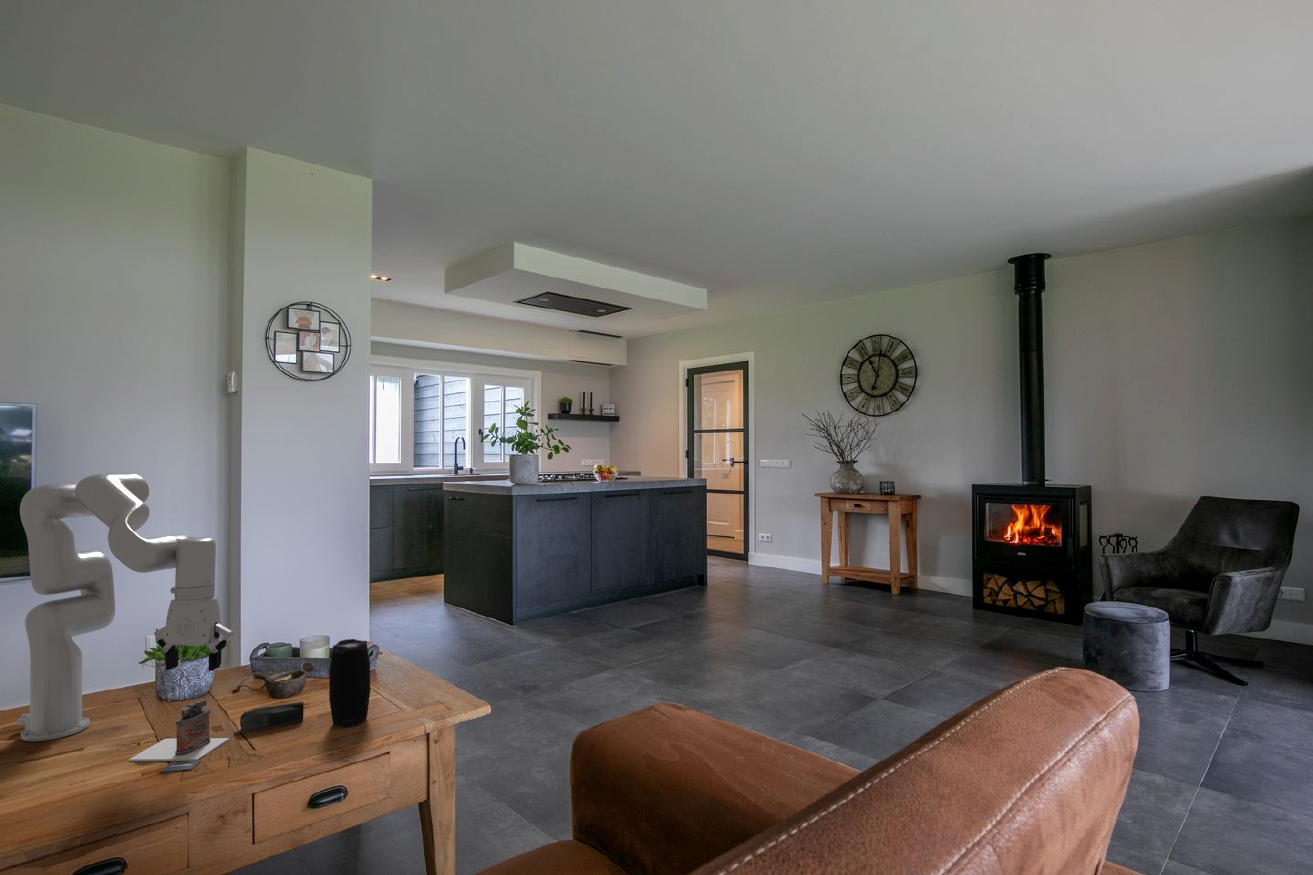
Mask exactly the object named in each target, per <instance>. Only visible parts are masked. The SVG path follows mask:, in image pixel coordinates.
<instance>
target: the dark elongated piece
mask: <svg viewBox="0 0 1313 875" xmlns="http://www.w3.org/2000/svg"><path fill="white" fill-rule="evenodd" d="M304 707H305V703H304V702H303V701H299V702H292V703H291V702H290V703H284V704H277V705H272V706H271V705H270V706H261V707H256V708H252V709H249V710H248V711H245V712H243V713H242V714H241V716H240V719H239V721H240V722H239V725H240V726H239V727H240V728H239V730H238V731H234V732H233V735H241V734H245V733H251V732H256V731H255V730H257V731H261V730H260V729H263V730H267V728H268V729H273V728H279V727H283V726H288V725H294V724H295V725H296V724H298V723H301V722H303V721H304V712H305V711H304V709H305V708H304ZM250 731H251V732H250Z"/></svg>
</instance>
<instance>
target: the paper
mask: <svg viewBox="0 0 1313 875" xmlns="http://www.w3.org/2000/svg"><path fill="white" fill-rule="evenodd" d="M209 738H210V743H209V744H207V745H206V746H204V747H202V748H200V749H198V750H196V751H194V752H192V753H189V754H187V755H184V756H176V755H175V751H176V747H177V738H164V739H162V740H160V741H158V742H157V743H155V744H153V745H152V746H150V747H148V748H146V749H144V750H143V751H141V752H139V753H138V754H136V755H134V756H133V757H130V758H129V759H128V762H188V761H197V760H198V761H200V760H201V759H202V757H203V756H204V757H206V756H207V755H209V754H210V753H212V752H213V751H215V750H217V749H218V748H219V747H220V745H221V746H222V745H224V744H225V743H226V742H228V741H230V737H227V738H226V737H224V738H223V737H219V738H218V737H216V738H215V737H214V738H213V737H209ZM214 749H215V750H214ZM205 755H206V756H205ZM204 757H203V758H204ZM200 758H201V759H200ZM199 759H200V760H199Z"/></svg>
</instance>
